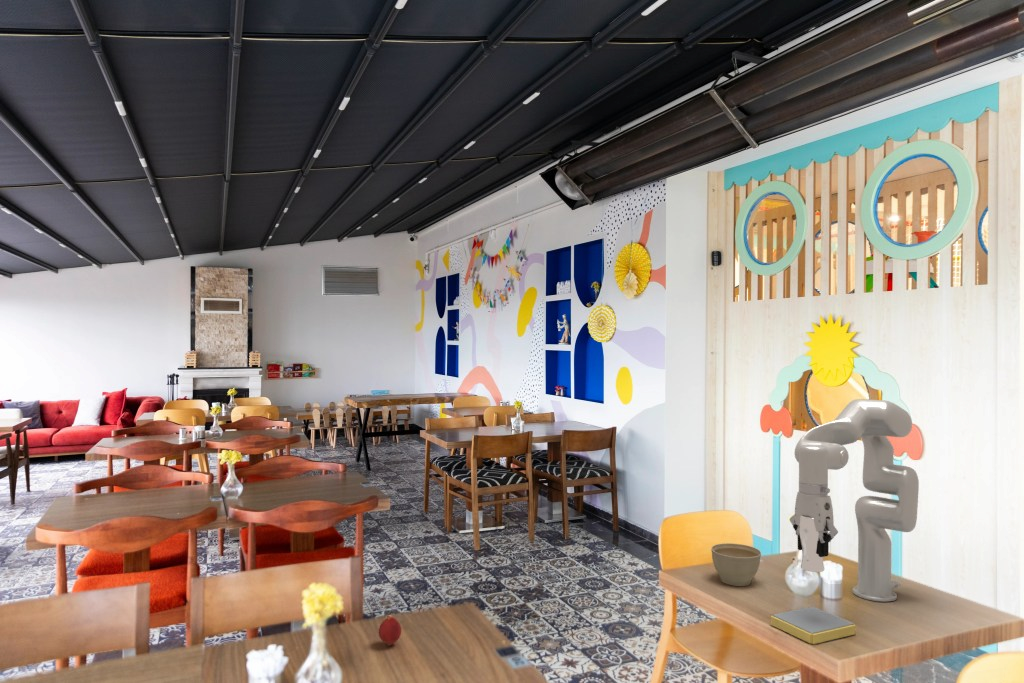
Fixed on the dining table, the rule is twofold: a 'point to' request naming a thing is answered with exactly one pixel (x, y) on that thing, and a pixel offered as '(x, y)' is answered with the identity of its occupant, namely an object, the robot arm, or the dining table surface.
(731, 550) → the planter bowl
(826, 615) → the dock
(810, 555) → the beer glass
